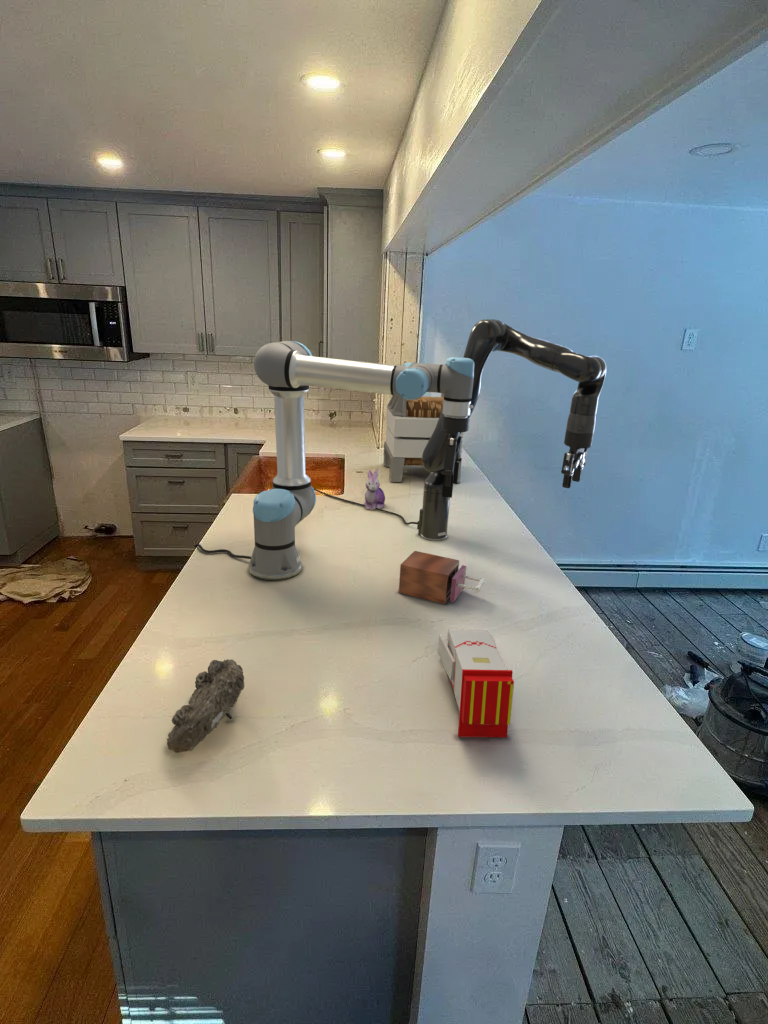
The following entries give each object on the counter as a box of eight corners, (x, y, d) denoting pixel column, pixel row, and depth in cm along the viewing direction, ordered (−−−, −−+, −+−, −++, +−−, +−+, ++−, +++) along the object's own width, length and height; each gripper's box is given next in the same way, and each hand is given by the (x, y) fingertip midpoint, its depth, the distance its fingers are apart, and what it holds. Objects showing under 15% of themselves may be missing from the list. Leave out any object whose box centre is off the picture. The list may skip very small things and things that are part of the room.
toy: (488, 613, 130) (523, 677, 101) (484, 667, 133) (517, 744, 104) (435, 612, 130) (455, 676, 101) (432, 666, 133) (451, 743, 103)
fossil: (192, 660, 117) (244, 628, 112) (224, 691, 120) (276, 661, 115) (142, 746, 98) (202, 712, 93) (182, 779, 101) (242, 748, 96)
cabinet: (456, 587, 163) (459, 560, 160) (445, 604, 154) (447, 575, 151) (412, 577, 168) (414, 550, 165) (398, 592, 159) (400, 564, 156)
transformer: (382, 463, 289) (386, 382, 275) (445, 464, 293) (451, 384, 279) (390, 482, 257) (394, 392, 243) (460, 483, 261) (468, 394, 247)
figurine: (369, 511, 219) (370, 474, 214) (358, 503, 228) (359, 467, 223) (390, 509, 224) (392, 472, 219) (378, 501, 232) (380, 465, 227)
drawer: (485, 592, 159) (487, 570, 157) (476, 607, 151) (478, 584, 148) (423, 578, 166) (425, 556, 163) (411, 591, 158) (412, 569, 155)
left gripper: (465, 425, 143) (458, 504, 150) (473, 410, 166) (466, 479, 173) (436, 422, 145) (430, 501, 152) (448, 408, 168) (442, 476, 175)
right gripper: (574, 424, 167) (566, 476, 173) (558, 430, 156) (549, 487, 162) (600, 427, 163) (591, 481, 169) (585, 435, 152) (576, 492, 158)
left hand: (449, 489), depth 163 cm, fingers open, 13 cm apart
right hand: (571, 484), depth 165 cm, fingers open, 8 cm apart
